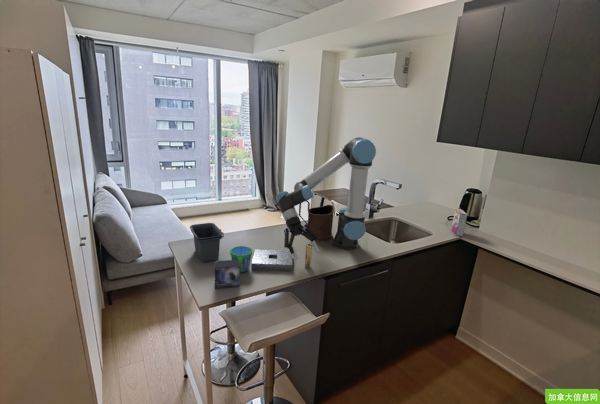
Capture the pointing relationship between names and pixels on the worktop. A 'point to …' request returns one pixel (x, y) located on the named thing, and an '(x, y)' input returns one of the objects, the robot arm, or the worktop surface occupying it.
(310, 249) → the brass pin
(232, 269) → the small box
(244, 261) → the snack cup
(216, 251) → the storage bin
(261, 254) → the plate
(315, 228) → the brown metal pitcher
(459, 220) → the candy bar box
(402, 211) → the worktop surface
